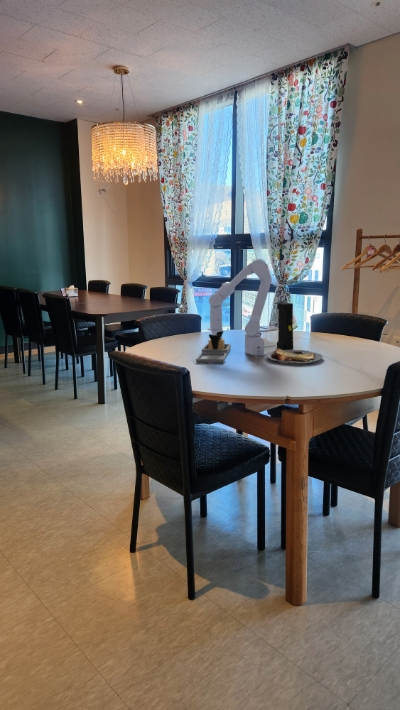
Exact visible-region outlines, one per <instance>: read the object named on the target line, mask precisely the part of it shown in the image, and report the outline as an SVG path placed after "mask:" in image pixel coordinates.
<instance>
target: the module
mask: <svg viewBox="0 0 400 710" xmlns="http://www.w3.org/2000/svg"><path fill="white" fill-rule="evenodd" d="M207 341H208V343H207V344H208V346H209V349H213V347H212V343H211V340H210V338H209V339H208V340H207ZM224 344H225V338H223V337H221V338H220V339H219V344H218V349H225V348H224Z"/></svg>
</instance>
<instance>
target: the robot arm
mask: <svg viewBox="0 0 400 710" xmlns="http://www.w3.org/2000/svg"><path fill="white" fill-rule="evenodd" d="M253 274H255V275H256V276H257V278H258V279H259V282H260V284H259V287H258V291H257V294H256V297H255V300H254V303H253V308H252V311H251V315H250V318H249V320H248V322H247V324H246V325H245V326H244V332H245V333H244V354H248V355H251V356H258V357H259V356H265V354H266V353H265V341H264V339H263V338H262V337H261V333H260V332H259V331H260V329H261V325H260V321H261V317H262V314H263V311H264V307H265V304H266V301H267V298H268V294H269V290H270V287H271V283H272V281H273V279H272V275H271V272H270V269H269V265H268V264H267V263H266V261H265V260H264V259H262V258H257V259H254V260H253V261H252V262H250V263H249V264H247V265H246V266H244V267H243V269H241V271H239V273H237V274H236V275H235V276H234V278H232V279H231V281H226V282H223V283H221V286H220V287H219V288H218V289H217V290H215V291H214V294H211V295H210V296H209V298H208V303H209V305H210V306H209V308H210V309H209V328H207V331H209V332H211V333H209V334H208V338H209V339H210V340H211V343H212V347H213V349H218V344H219V339H220V338H223V334H224V330H223V306H222V305H223V302H224V301H226V300H227V299H228V298H229V297H230V296H231V295H233V293H234V292H235V289H236V286H237V285H239V283H241V282H242V281H243V280H244V279H245V278H246V277H247V276H251V275H253Z"/></svg>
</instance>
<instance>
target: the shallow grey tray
mask: <svg viewBox="0 0 400 710" xmlns="http://www.w3.org/2000/svg"><path fill="white" fill-rule="evenodd" d="M227 356H228V355H227V353H208V352H202V351H201V352H200V353H199V355H198V356H197V357H196V358H195V363H196V362H197V363H213V364H212V365H224V363H225V360H226V358H227Z"/></svg>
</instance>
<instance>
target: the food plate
mask: <svg viewBox="0 0 400 710" xmlns="http://www.w3.org/2000/svg"><path fill="white" fill-rule="evenodd" d="M264 354H265V355H264V356H265V358H266V359H268V360H272V361H277V362H279V363H281V364H285V365H289V364H290V365H299V364H301V365H302V364H309V363H312V362H317V361H320V360H321V359H323V358H324V355H322V354H321V353H319V352H313V351H310V350H302V349H299V350H298V349H292V350H281V349H279V348H275V350H273V351H268V352H267V353H264Z"/></svg>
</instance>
